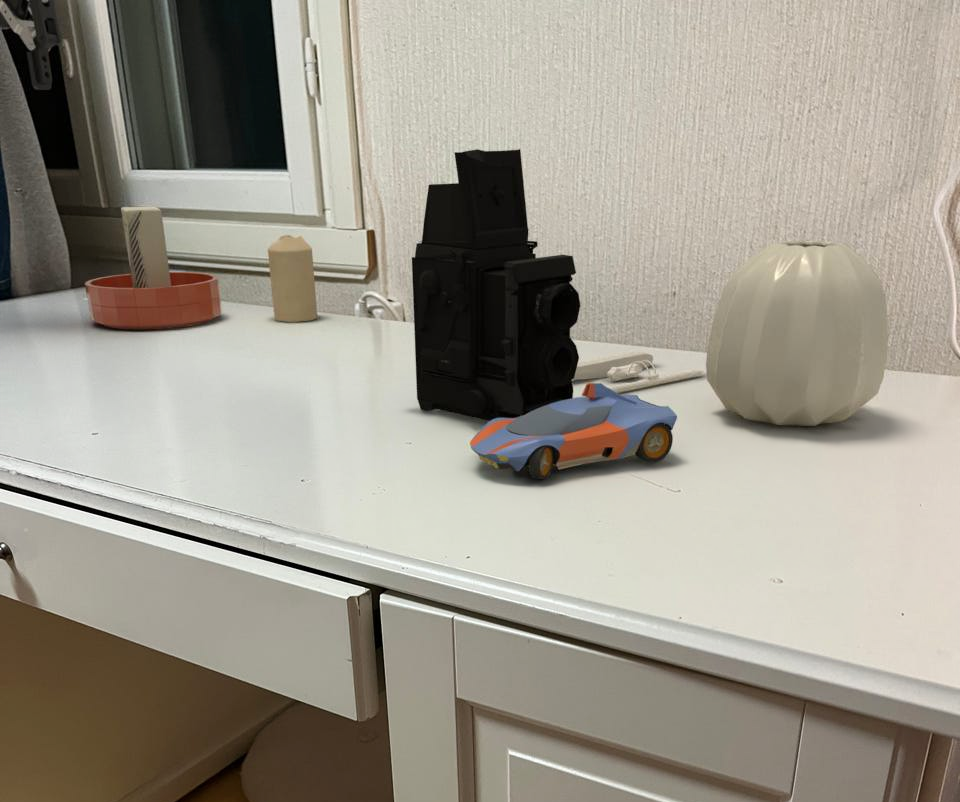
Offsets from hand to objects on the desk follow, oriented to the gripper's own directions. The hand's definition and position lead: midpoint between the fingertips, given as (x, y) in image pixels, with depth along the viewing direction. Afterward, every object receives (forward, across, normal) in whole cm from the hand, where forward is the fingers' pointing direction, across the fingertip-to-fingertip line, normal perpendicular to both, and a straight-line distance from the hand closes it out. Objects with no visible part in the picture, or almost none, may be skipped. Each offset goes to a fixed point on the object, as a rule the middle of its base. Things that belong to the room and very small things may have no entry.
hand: (15, 89), depth 116 cm
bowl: (+26, +12, +6) cm, 29 cm away
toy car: (+24, +82, -31) cm, 91 cm away
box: (+26, +12, +6) cm, 29 cm away
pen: (+25, +76, -3) cm, 80 cm away
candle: (+26, +28, +14) cm, 40 cm away
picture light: (+24, +80, -5) cm, 84 cm away
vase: (+24, +95, -12) cm, 99 cm away
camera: (+25, +73, -21) cm, 80 cm away
